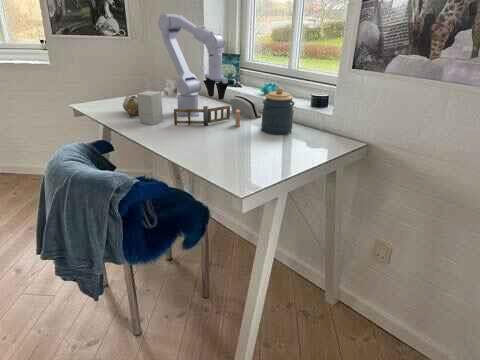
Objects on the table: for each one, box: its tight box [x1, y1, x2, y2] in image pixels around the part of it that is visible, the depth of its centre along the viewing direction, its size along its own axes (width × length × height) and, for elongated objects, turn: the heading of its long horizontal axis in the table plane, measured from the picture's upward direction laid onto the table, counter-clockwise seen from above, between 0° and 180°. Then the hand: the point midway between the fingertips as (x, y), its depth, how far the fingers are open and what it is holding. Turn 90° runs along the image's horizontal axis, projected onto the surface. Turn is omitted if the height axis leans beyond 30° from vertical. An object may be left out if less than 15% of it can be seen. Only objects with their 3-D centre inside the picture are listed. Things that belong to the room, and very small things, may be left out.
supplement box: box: [136, 90, 164, 126], centre depth 151 cm, size 7×7×13 cm
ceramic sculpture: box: [122, 95, 139, 117], centre depth 163 cm, size 11×9×15 cm
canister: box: [260, 87, 296, 136], centre depth 145 cm, size 13×13×18 cm
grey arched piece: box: [229, 94, 262, 120], centre depth 168 cm, size 17×5×10 cm, turn 39°
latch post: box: [235, 110, 241, 128], centre depth 152 cm, size 2×4×6 cm, turn 4°
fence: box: [173, 108, 204, 126], centre depth 150 cm, size 12×1×7 cm, turn 94°
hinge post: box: [202, 105, 209, 127], centre depth 150 cm, size 2×2×8 cm
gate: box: [208, 105, 231, 124], centre depth 154 cm, size 11×1×6 cm, turn 129°
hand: (216, 97), depth 156 cm, fingers open, 7 cm apart
